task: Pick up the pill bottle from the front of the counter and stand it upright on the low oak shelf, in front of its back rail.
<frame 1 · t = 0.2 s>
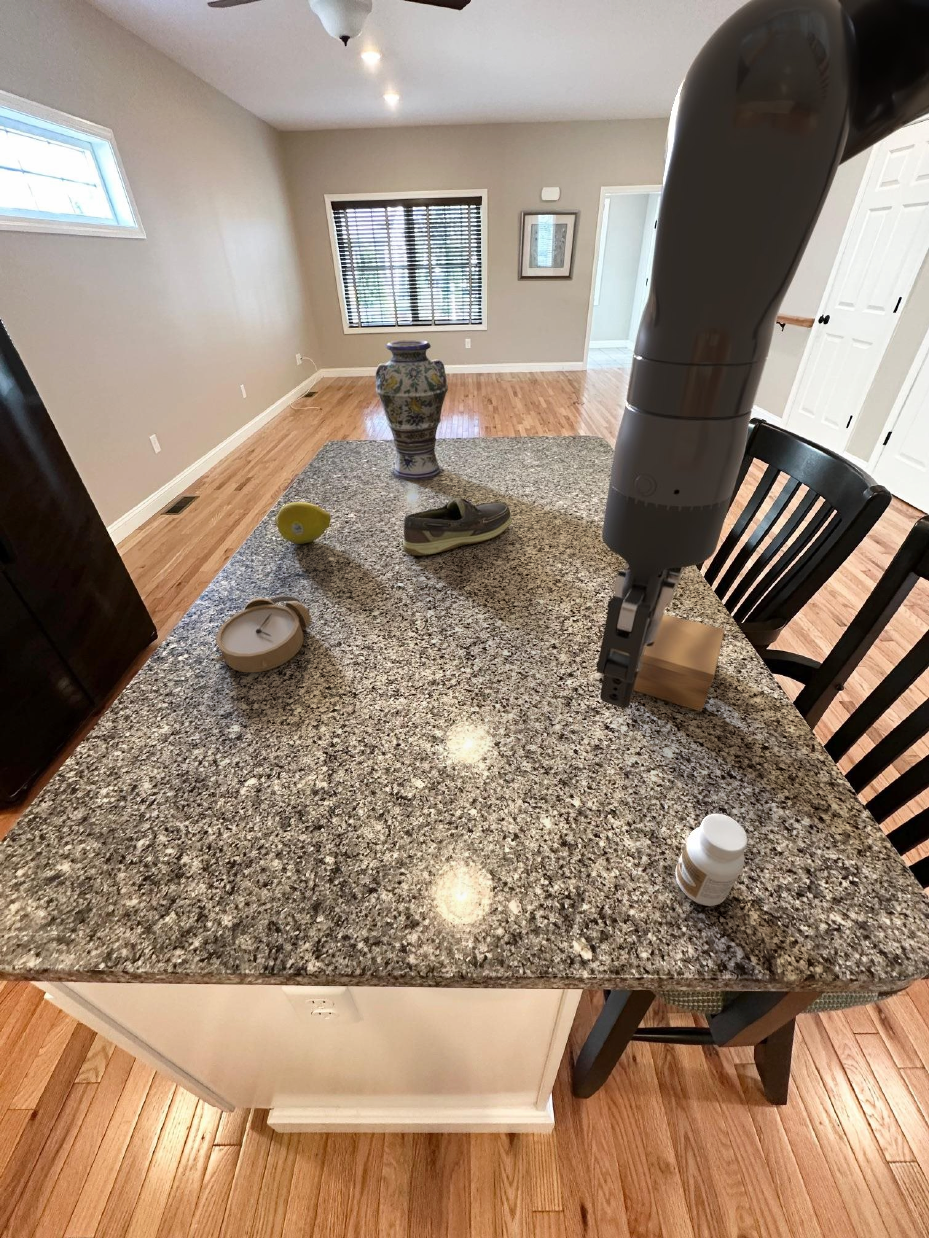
hand: (628, 669, 42), 18 cm above the countertop, tool pointing down, fingers open, 8 cm apart
lemon: (306, 542, 102), on the countertop
boat shoe: (461, 539, 102), on the countertop
vase: (418, 472, 134), on the countertop
alarm clock: (270, 641, 76), on the countertop
pill bottle: (699, 883, 46), on the countertop
shelf: (659, 672, 68), on the countertop
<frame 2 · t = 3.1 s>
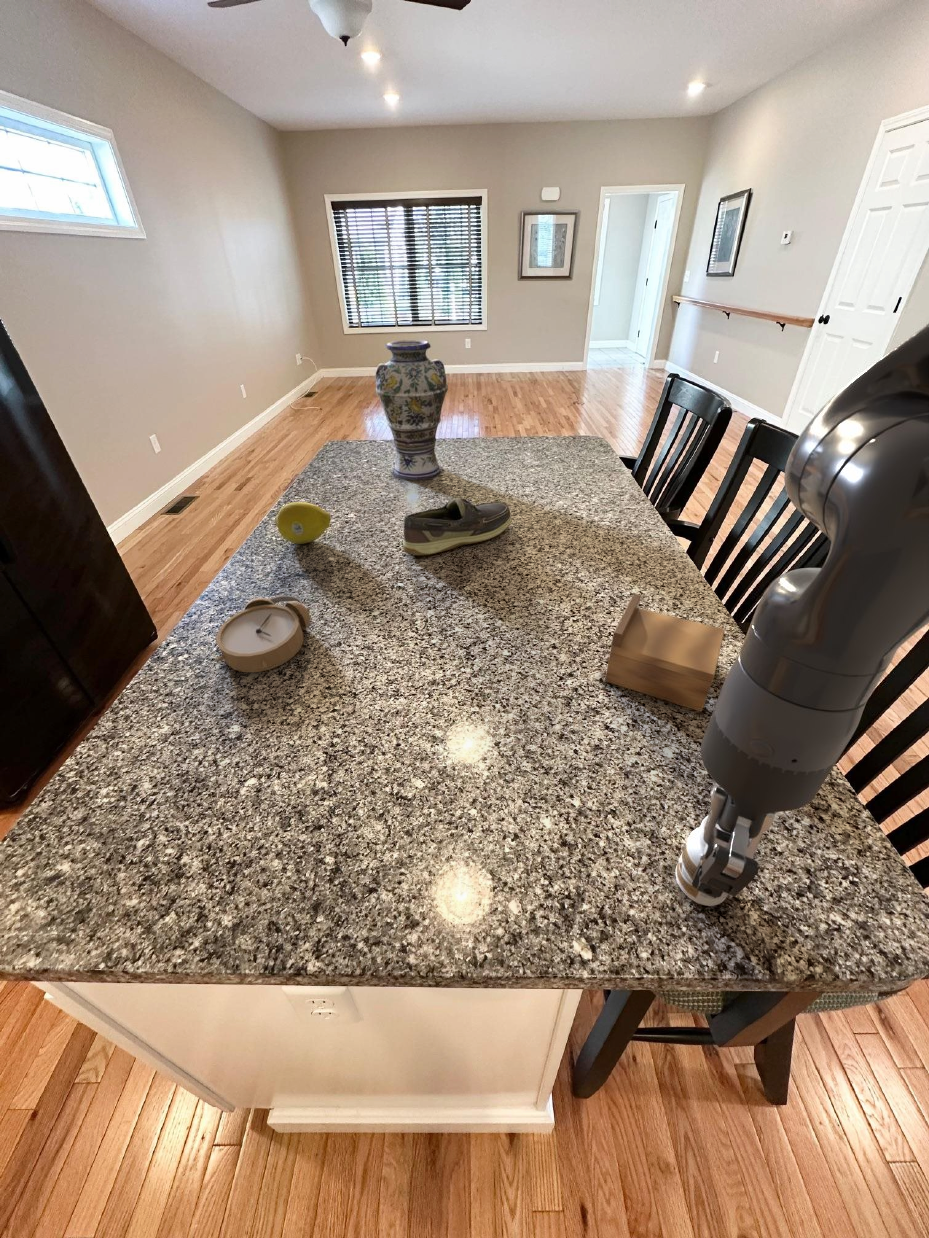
hand: (710, 861, 44), 3 cm above the countertop, tool pointing down, fingers closed on pill bottle, 4 cm apart
pill bottle: (699, 883, 46), on the countertop, touching gripper
everything else where it was.
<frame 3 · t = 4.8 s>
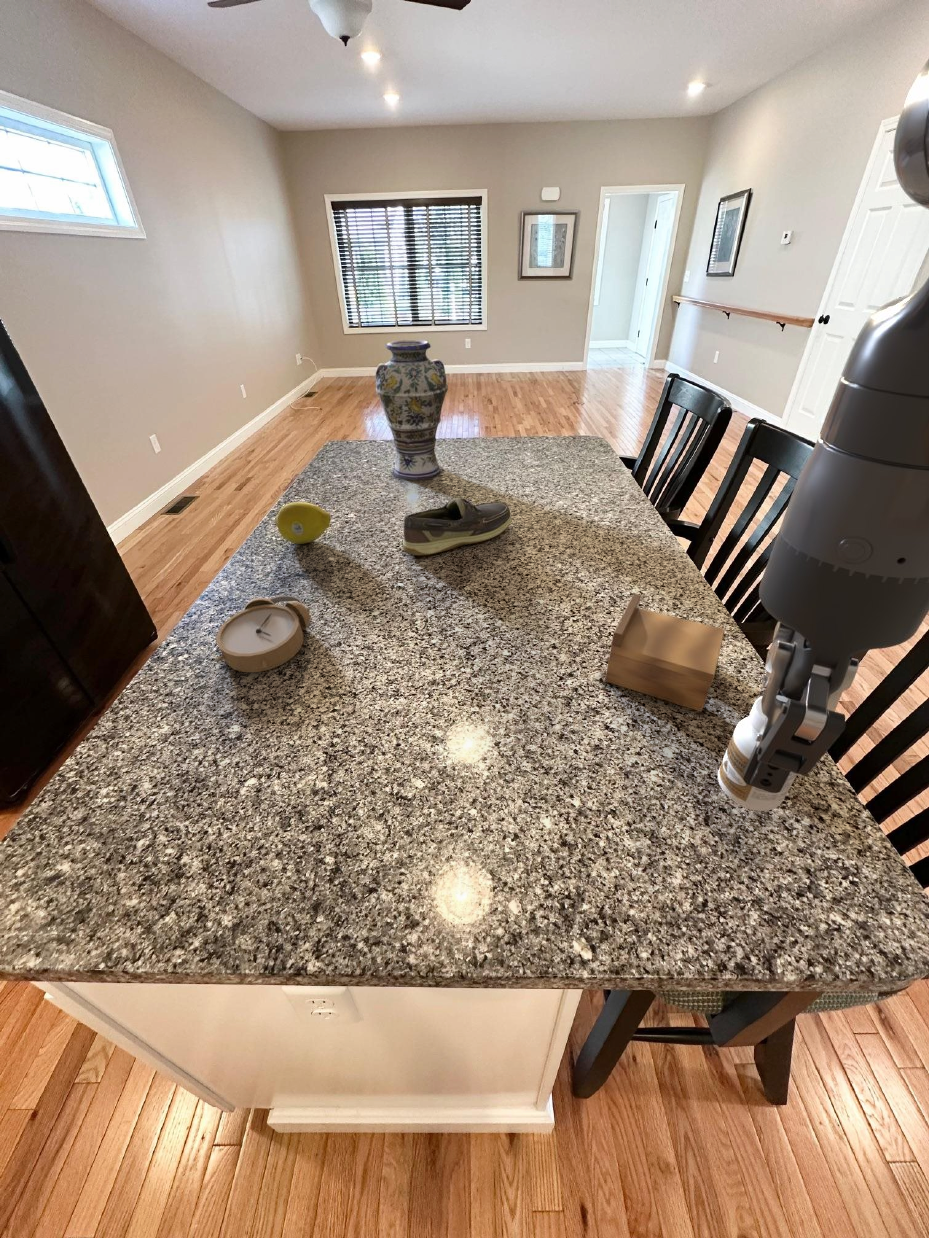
hand: (762, 756, 36), 17 cm above the countertop, tool pointing down, fingers closed on pill bottle, 4 cm apart
pill bottle: (747, 788, 38), point 13 cm above the countertop, touching gripper
everything else where it was.
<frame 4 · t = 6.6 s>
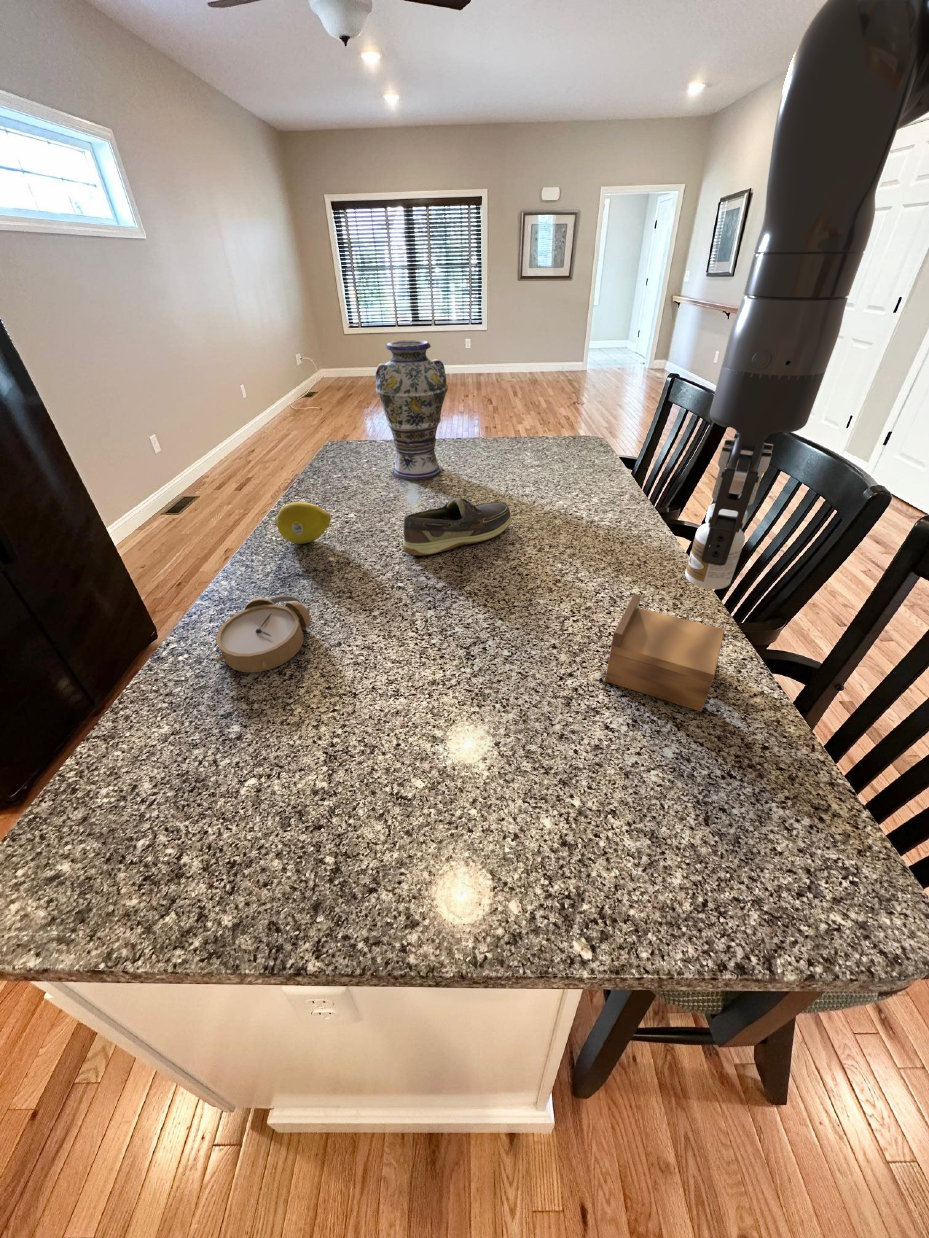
hand: (716, 550, 51), 21 cm above the countertop, tool pointing down, fingers closed on pill bottle, 4 cm apart
pill bottle: (706, 581, 53), point 18 cm above the countertop, touching gripper
everything else where it was.
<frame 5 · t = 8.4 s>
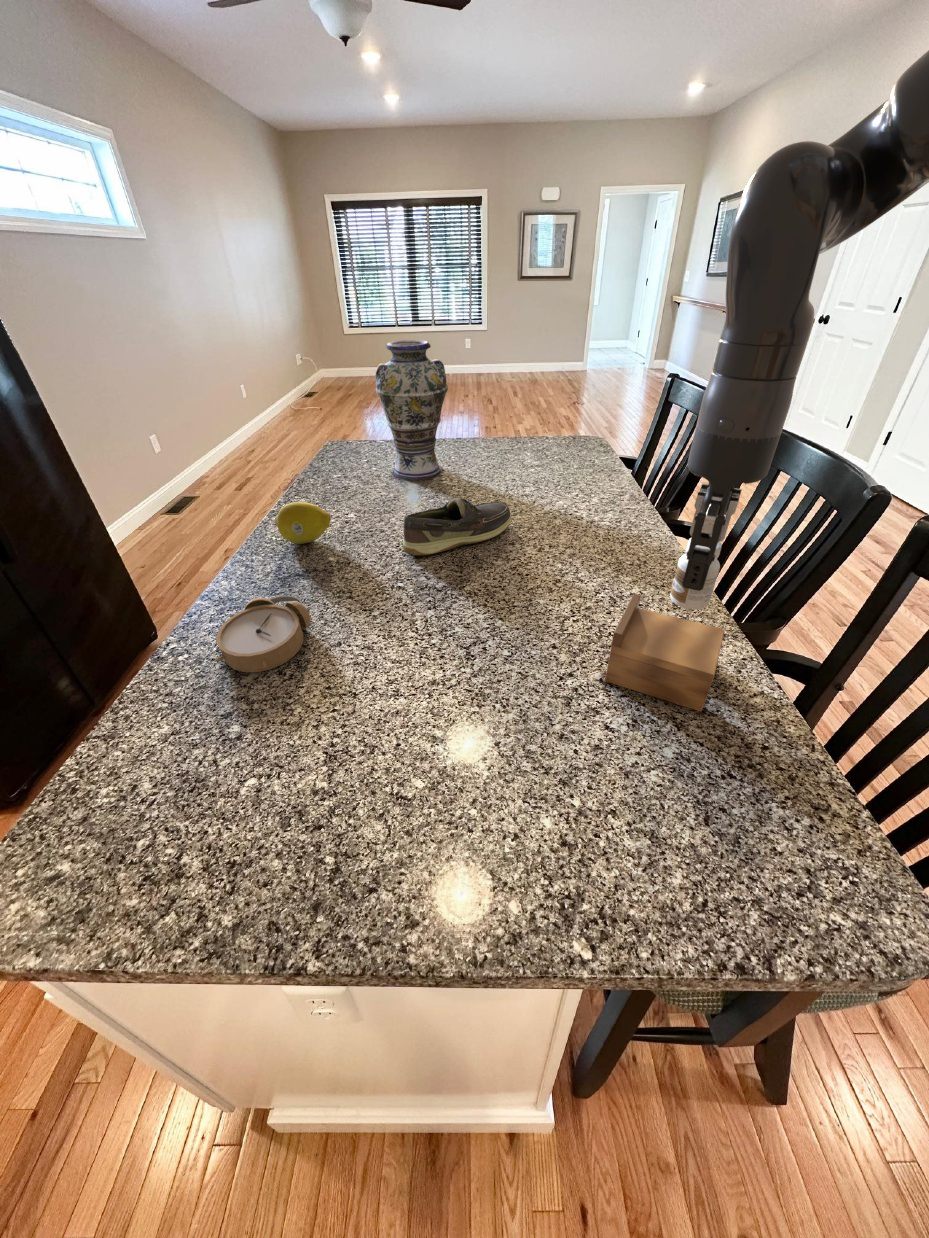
hand: (695, 576, 59), 15 cm above the countertop, tool pointing down, fingers closed on pill bottle, 4 cm apart
pill bottle: (688, 602, 61), point 12 cm above the countertop, touching gripper
everything else where it was.
when the fingers open (9 cm above the countertop, at t = 10.2 s): pill bottle stays where it is, resting on shelf.
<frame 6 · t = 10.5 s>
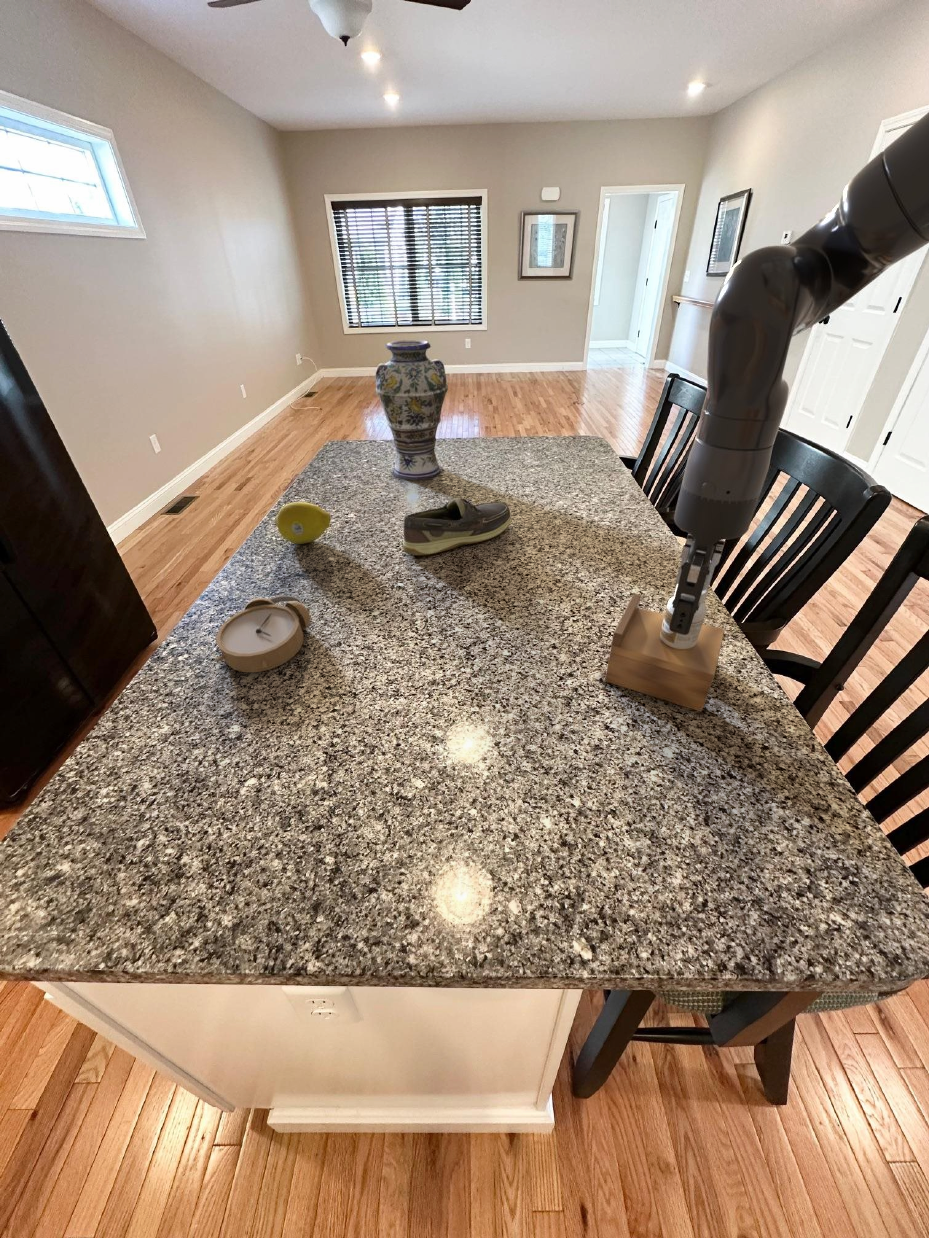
hand: (683, 616, 63), 10 cm above the countertop, tool pointing down, fingers open, 6 cm apart
pill bottle: (677, 640, 65), point 6 cm above the countertop, touching shelf
everything else where it was.
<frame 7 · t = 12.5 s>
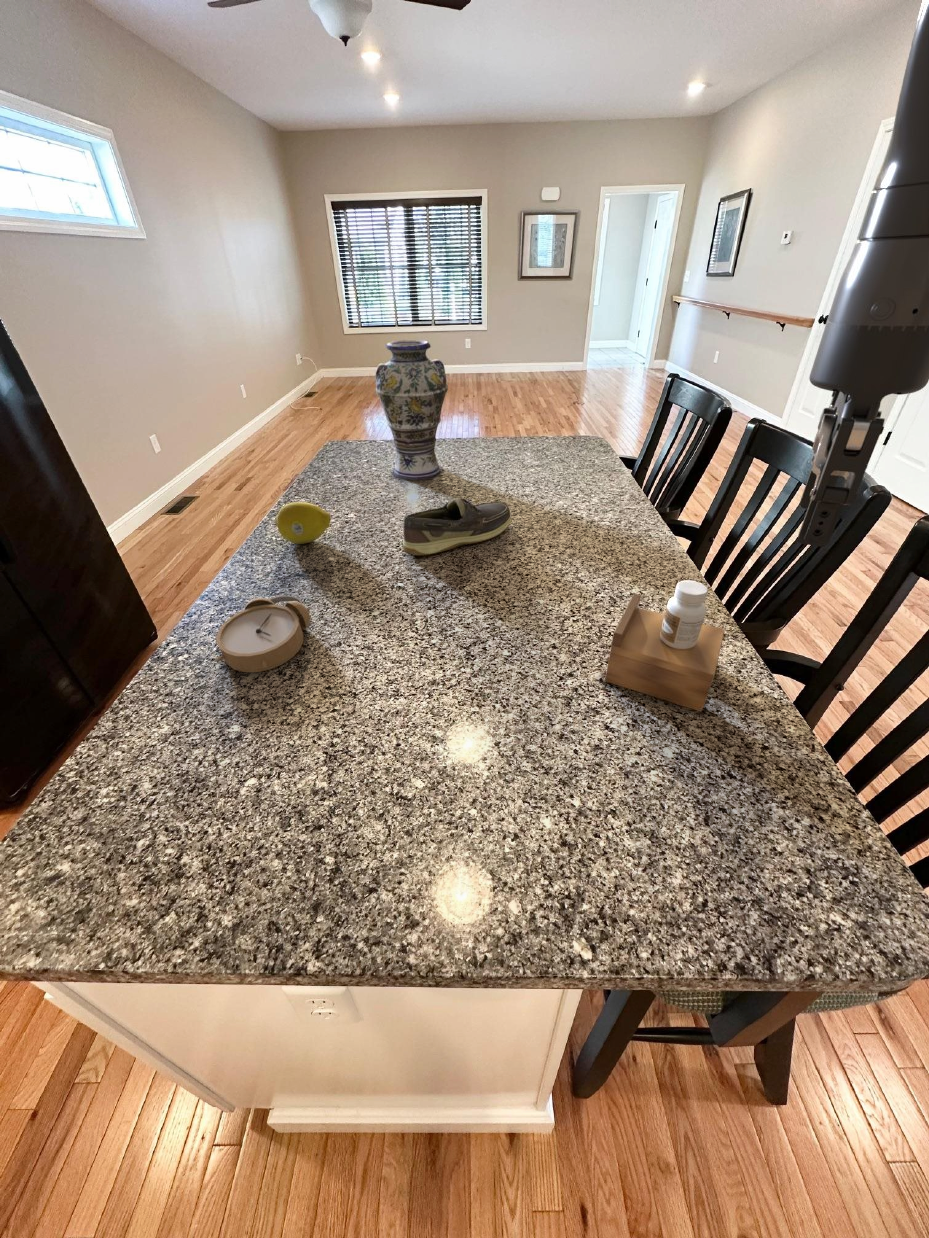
hand: (811, 524, 46), 26 cm above the countertop, tool pointing down, fingers open, 8 cm apart
nothing on the countertop moved.
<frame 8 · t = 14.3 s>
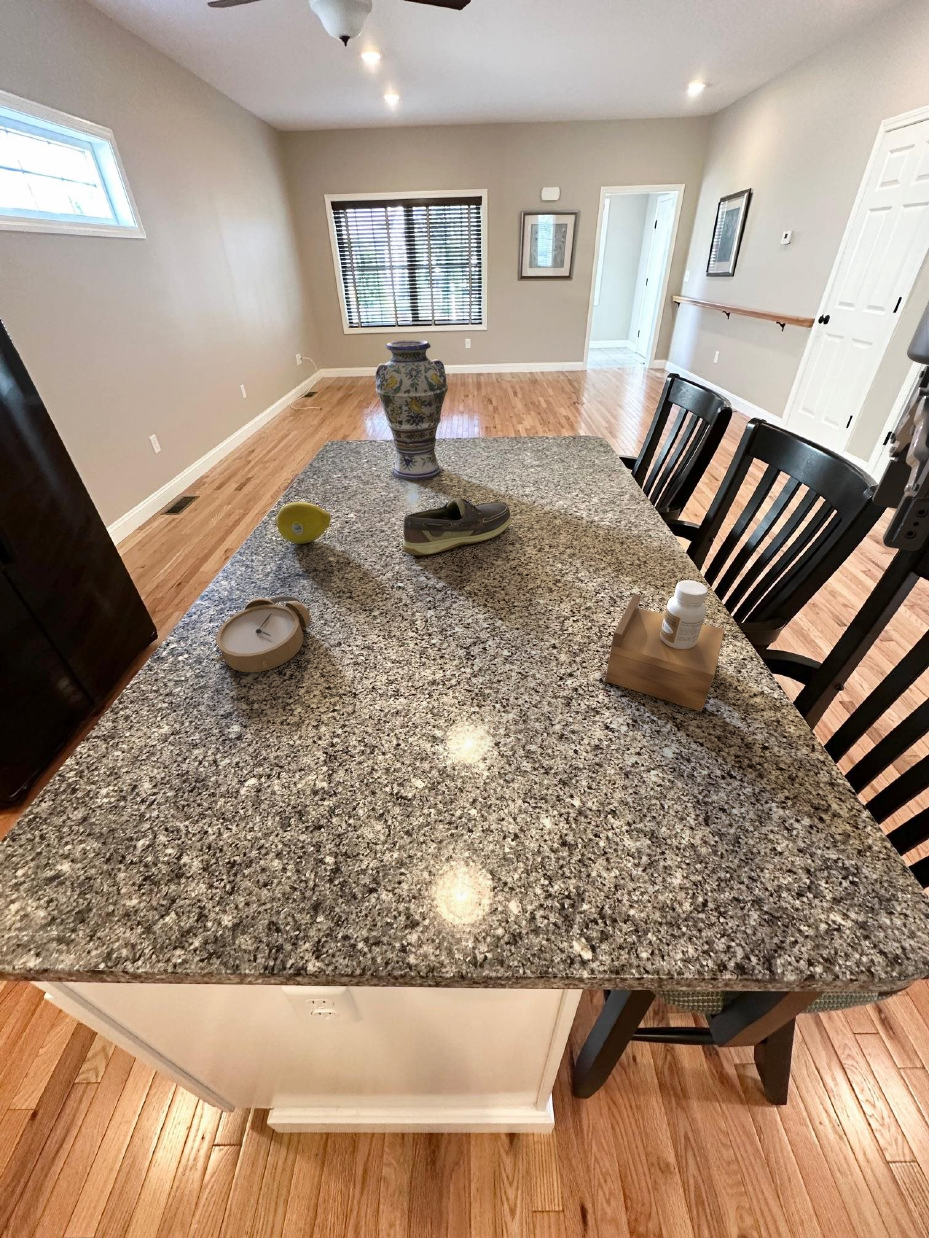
hand: (891, 524, 40), 28 cm above the countertop, tool pointing down, fingers open, 8 cm apart
nothing on the countertop moved.
at the end: pill bottle inside the target area on the shelf (1.0 cm from its centre), point 5.8 cm above the shelf's base; pill bottle tilted 0° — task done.
